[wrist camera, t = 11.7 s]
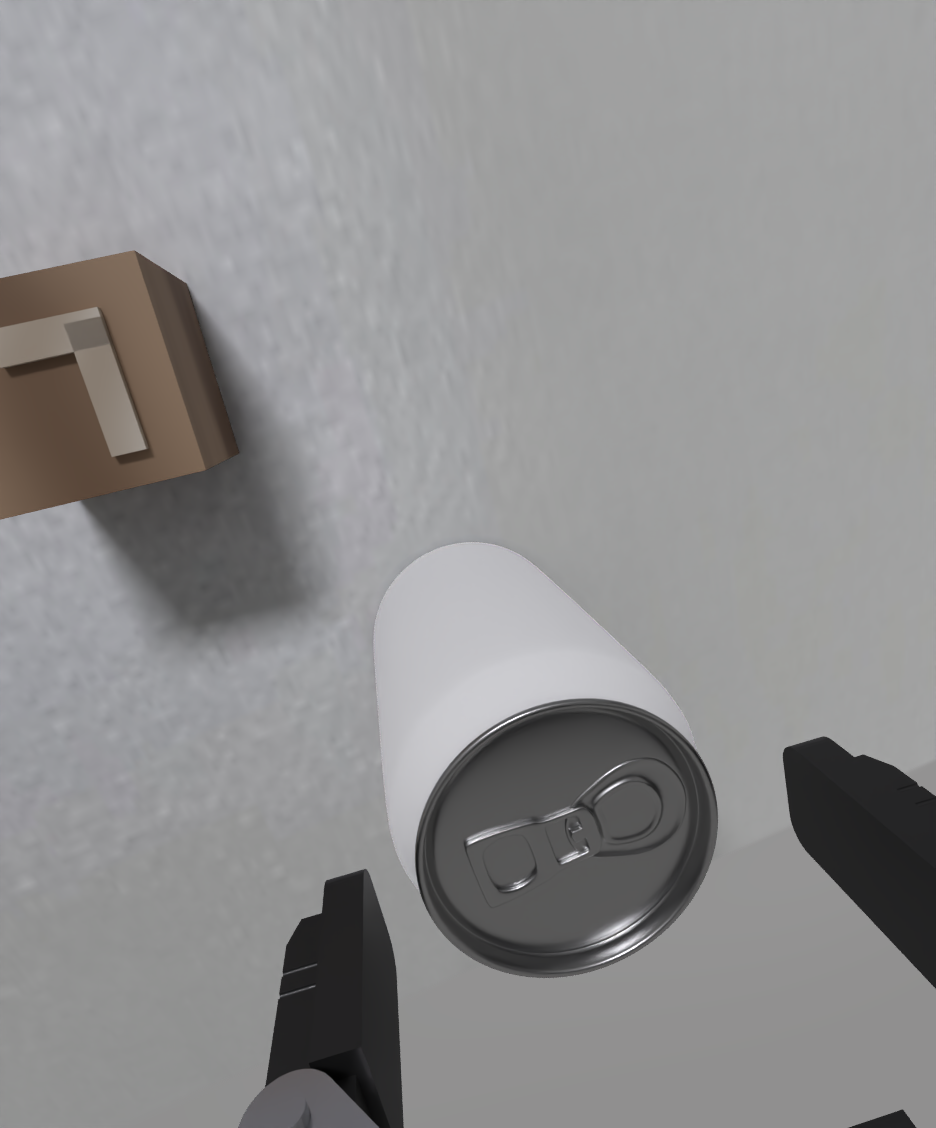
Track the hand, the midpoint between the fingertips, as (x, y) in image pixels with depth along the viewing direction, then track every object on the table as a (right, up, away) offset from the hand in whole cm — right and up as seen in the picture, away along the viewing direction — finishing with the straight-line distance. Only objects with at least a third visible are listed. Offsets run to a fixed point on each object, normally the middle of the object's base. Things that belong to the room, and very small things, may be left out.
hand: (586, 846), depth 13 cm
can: (-2, +3, +11) cm, 12 cm away
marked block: (-12, +10, +8) cm, 18 cm away
